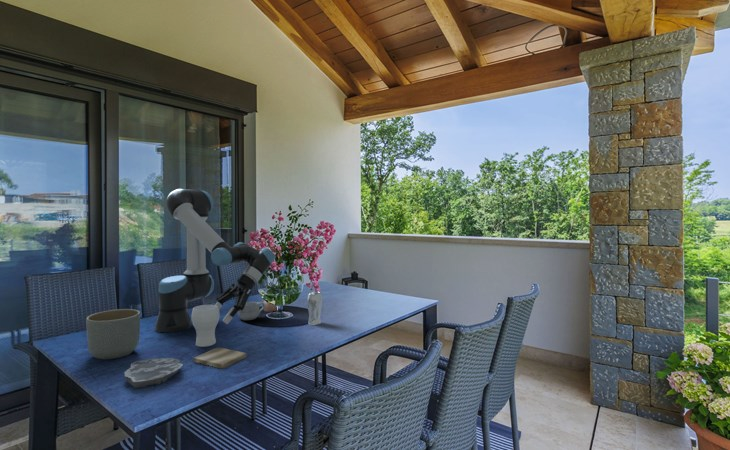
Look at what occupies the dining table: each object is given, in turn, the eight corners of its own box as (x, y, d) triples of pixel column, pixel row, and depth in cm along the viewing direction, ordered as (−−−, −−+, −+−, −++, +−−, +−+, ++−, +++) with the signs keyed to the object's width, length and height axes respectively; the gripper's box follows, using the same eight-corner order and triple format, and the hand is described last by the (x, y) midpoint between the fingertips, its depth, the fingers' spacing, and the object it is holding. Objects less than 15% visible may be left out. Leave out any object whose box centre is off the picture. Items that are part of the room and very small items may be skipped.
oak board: (193, 361, 139) (193, 357, 139) (218, 351, 150) (218, 347, 150) (222, 368, 134) (222, 364, 134) (246, 357, 145) (246, 353, 144)
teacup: (239, 323, 187) (239, 306, 187) (235, 317, 197) (235, 302, 197) (268, 319, 194) (268, 303, 194) (263, 314, 203) (263, 299, 203)
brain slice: (188, 380, 125) (188, 371, 125) (126, 394, 115) (126, 385, 115) (177, 361, 141) (177, 353, 141) (122, 372, 131) (122, 363, 131)
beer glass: (319, 325, 184) (319, 294, 184) (305, 325, 185) (305, 294, 185) (323, 321, 191) (323, 291, 190) (310, 320, 192) (310, 291, 192)
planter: (100, 367, 134) (99, 323, 133) (78, 357, 143) (77, 316, 142) (149, 352, 148) (148, 313, 147) (126, 344, 157) (126, 306, 156)
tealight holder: (260, 310, 211) (260, 300, 210) (269, 307, 218) (269, 297, 218) (272, 312, 207) (272, 302, 207) (281, 309, 215) (281, 299, 214)
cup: (185, 345, 156) (185, 309, 155) (205, 337, 165) (205, 303, 165) (205, 349, 152) (205, 312, 151) (225, 341, 161) (225, 305, 161)
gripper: (270, 287, 164) (237, 330, 153) (240, 279, 181) (210, 318, 171) (258, 276, 160) (224, 320, 149) (229, 270, 177) (197, 308, 167)
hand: (216, 319), depth 160 cm, fingers open, 13 cm apart
